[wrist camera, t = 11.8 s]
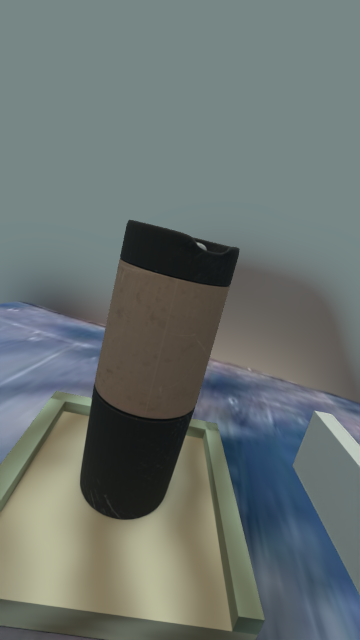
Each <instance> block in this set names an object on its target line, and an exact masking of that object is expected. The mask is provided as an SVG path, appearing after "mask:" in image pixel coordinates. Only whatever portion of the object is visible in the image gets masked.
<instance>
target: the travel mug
mask: <svg viewBox="0 0 360 640" xmlns="http://www.w3.org/2000/svg"><path fill="white" fill-rule="evenodd" d="M238 255H239V248H237V247H230V246H225V245H221V244H217V243H213V242H209V241H205V240H201V239H197V238H193V237H191V236H189V235H187V234H184V233H181V232H178V231H174V230H170V229H167V228H163V227H159V226H154V225H150V224H146V223H142V222H138V221H133V220H129V221H128V223H127V226H126V231H125V236H124V241H123V246H122V251H121V255H120V257H121V258H120V260H119V266H118V270H117V275H116V280H115V285H114V290H113V295H112V300H111V304H110V309H109V314H108V319H107V324H106V329H105V334H104V338H103V343H102V348H101V353H100V358H99V363H98V368H97V373H96V377H95V384H94V389H93V395H92V402H91V408H90V414H89V421H88V427H87V434H86V440H85V446H84V453H83V459H82V466H81V473H80V487H81V491H82V494H83V496H84V498H85V499H86V501H87V502H88V503H89V505H90V506H91V507H93V508H94V509H95V510H96V511H98V512H100V513H101V514H103V515H106V516H108V517H111V518H115V519H123V520H128V519H136V518H140V517H143V516H146V515H148V514H150V513H151V512H153V511H154V510H155V509H156V508H157V507H158V506H159V505H160V504H161V502H162V501H163V499H164V497H165V495H166V492H167V489H168V487H169V484H170V481H171V478H172V475H173V472H174V469H175V466H176V463H177V460H178V457H179V454H180V451H181V448H182V445H183V442H184V439H185V436H186V433H187V430H188V427H189V424H190V421H191V418H192V415H193V412H194V409H195V405H196V403H197V400H198V396H199V393H200V389H201V386H202V382H203V379H204V375H205V371H206V368H207V364H208V361H209V357H210V354H211V350H212V347H213V343H214V340H215V336H216V333H217V329H218V326H219V322H220V319H221V315H222V312H223V308H224V305H225V301H226V297H227V294H228V291H229V285H230V284H231V280H232V277H233V273H234V270H235V266H236V263H237V259H238Z"/></svg>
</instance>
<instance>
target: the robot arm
mask: <svg viewBox="0 0 360 640" xmlns="http://www.w3.org/2000/svg"><path fill="white" fill-rule="evenodd" d="M293 467H294V469H295V471H296V473H297V475H298V477H299V479H300V481H301V483H302V485H303V487H304V489H305V490H306V492H307V494H308V496H309V498H310V500H311V502H312V504H313V506H314V508H315V510H316V512H317V514H318V515H319V517H320V519H321V521H322V523H323V525H324V527H325V529H326V531H327V533H328V535H329V537H330V539H331V541H332V542H333V544H334V546H335V548H336V550H337V552H338V554H339V556H340V558H341V560H342V562H343V564H344V566H345V567H346V569H347V571H348V573H349V575H350V577H351V579H352V581H353V583H354V585H355V587H356V589H357V591H358V593H359V594H360V445H359V444H358V443H357V442H356V441H355V440H354V439H353V437H352V436H351V435H350V434H349V433H348V432H347V431H346V430H345V429H344V427H343V426H342V425H341V424H340V423H339V422H338V421H337V420H336V418H335V417H334V416H333V415H332V414H328V413H323V412H318V411H314V413H313V416H312V418H311V421H310V423H309V426H308V428H307V431H306V433H305V436H304V438H303V441H302V443H301V446H300V448H299V451H298V453H297V456H296V458H295V461H294V464H293Z"/></svg>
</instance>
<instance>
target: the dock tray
mask: <svg viewBox="0 0 360 640" xmlns="http://www.w3.org/2000/svg"><path fill="white" fill-rule="evenodd" d="M91 402H92V398H88V397H83V396H78V395H73V394H68V393H63V392H59V391H56V392H55V393H54V394H53V396H52V397H51V398H50V400H49V401H48V402H47V404H46V405H45V406H44V408H43V409H42V410H41V412H40V413H39V414H38V415H37V417H36V418H35V419H34V421H33V422H32V423H31V425H30V426H29V427H28V429H27V430H26V431H25V433H24V434H23V435H22V437H21V438H20V439H19V441H18V442H17V443H16V445H15V446H14V447H13V449H12V450H11V451H10V453H9V454H8V455H7V457H6V458H5V459H4V461H3V462H2V463H1V465H0V626H7V627H14V628H22V629H30V630H37V631H45V632H52V633H60V634H67V635H75V636H82V637H90V638H97V639H105V640H256V638H257V636H258V634H259V632H260V629H261V627H262V625H263V623H264V621H265V619H264V615H263V611H262V607H261V603H260V599H259V595H258V590H257V586H256V582H255V578H254V574H253V570H252V566H251V562H250V557H249V553H248V549H247V545H246V541H245V537H244V533H243V529H242V525H241V520H240V516H239V512H238V508H237V504H236V500H235V496H234V492H233V487H232V483H231V479H230V475H229V471H228V467H227V463H226V459H225V454H224V450H223V446H222V442H221V438H220V434H219V430H218V426H217V424H216V423H211V422H206V421H201V420H196V419H191V421H190V424H189V427H188V430H187V433H186V436H185V439H184V442H183V445H182V448H181V451H180V454H179V457H178V460H177V463H176V466H175V469H174V472H173V475H172V478H171V481H170V484H169V487H168V489H167V492H166V495H165V497H164V499H163V501H162V502H161V504H160V505H159V506H158V507H157V508H156V509H155V510H154V511H153V512H151V513H150V514H148V515H146V516H143V517H140V518H136V519H128V520H123V519H115V518H111V517H108V516H106V515H103V514H101V513H100V512H98V511H96V510H95V509H94V508H93V507H91V506H90V505H89V503H88V502H87V501H86V499H85V498H84V496H83V494H82V491H81V487H80V473H81V466H82V459H83V453H84V446H85V440H86V434H87V427H88V421H89V414H90V408H91Z"/></svg>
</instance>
